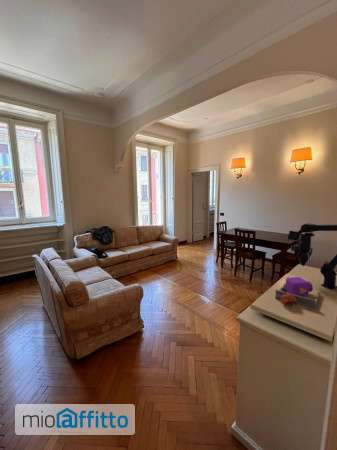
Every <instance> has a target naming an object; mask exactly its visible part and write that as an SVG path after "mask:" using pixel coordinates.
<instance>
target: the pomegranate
mask: <svg viewBox="0 0 337 450" xmlns="http://www.w3.org/2000/svg"><path fill="white" fill-rule="evenodd" d="M284 292H285V294H283V295H282V297H281V300H280V302H281V304H282V305H284V306H290V308H291V310H293V308H292V306H293V305H296V304H295V303H296V302H297V300H296V298H295V296H293V295H292V294H290V293H288V292H287V291H284ZM286 292H287V294H286Z"/></svg>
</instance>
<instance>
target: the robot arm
mask: <svg viewBox="0 0 337 450" xmlns="http://www.w3.org/2000/svg"><path fill="white" fill-rule="evenodd" d="M323 231H324V232H337V224H318V223H317V224H316V223H309V222H306V223H303V224H302V225H301V226H300V229H299V230H298V231H297V230H296V231H295V230H289V231H288V235H287V239H288V241H293V242H294V241H296V242H299V240H300V243H299V244H294V245H291V246H290V250H291V252H295V251H298V252H297V253H296V257H297V258H299V259H300V262H301V266H302V267H305V266H306V263H308V261H309V259H310V257H311V256H312V254H313V253H314V252H313V251H314V248H313V247H312V237H315V236H316V234H315V232H323ZM336 267H337V253H336V255H334V256H333V258H332V259H331V260H330V261H327V260H326V261H324V263H323V264H322V265H321V266H320V274H321V275H322V276H323V278H324V279H323V283H322V284H320V285H321V287H324V288H326V289H329V290H334V289H337V285H336V283H337V272H336V271H335V268H336Z"/></svg>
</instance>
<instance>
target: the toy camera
mask: <svg viewBox="0 0 337 450" xmlns="http://www.w3.org/2000/svg"><path fill="white" fill-rule="evenodd" d="M285 283H286V288H285V292H287V293H291V294H295V295H299V296H302V297H306V298H308V297H309V293H310V292H311V293H312V292H313V291H314V288H313V287H314V286H313V284H312V282H311V280H310V281H309V280H305V279H304V278H303V277H299V276H289V277H286V279H285Z"/></svg>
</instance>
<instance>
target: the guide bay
mask: <svg viewBox="0 0 337 450" xmlns="http://www.w3.org/2000/svg"><path fill="white" fill-rule="evenodd" d="M285 290H286V282H284V283H283V284H282V286H281V287H280V288H279V289H276V290H275V299H276V300H278V301H279V300H280V301H281V297H282V295H283V294H285V292H286V294H287V293H288V292H287V291H285ZM290 294H291V293H290ZM292 295H293V296H295V298H296V300H297V302H296V303H295V304H294V305H296V306H300V307H303V308H307V309H310V310H314V311H315V310H316V307H317V305H318V302H319V299H320V297H321V291H320V290H319V291H318V292H317V293H316V296H315V298H309V297H302V296H299V295H295V294H292Z"/></svg>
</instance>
